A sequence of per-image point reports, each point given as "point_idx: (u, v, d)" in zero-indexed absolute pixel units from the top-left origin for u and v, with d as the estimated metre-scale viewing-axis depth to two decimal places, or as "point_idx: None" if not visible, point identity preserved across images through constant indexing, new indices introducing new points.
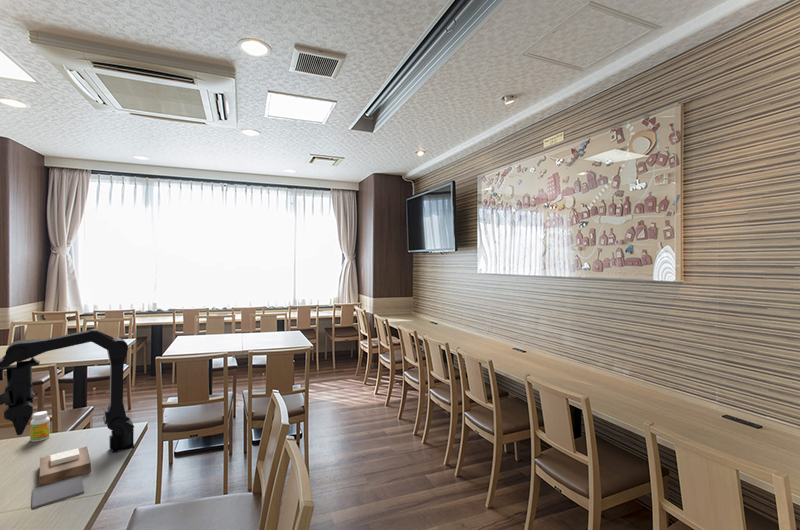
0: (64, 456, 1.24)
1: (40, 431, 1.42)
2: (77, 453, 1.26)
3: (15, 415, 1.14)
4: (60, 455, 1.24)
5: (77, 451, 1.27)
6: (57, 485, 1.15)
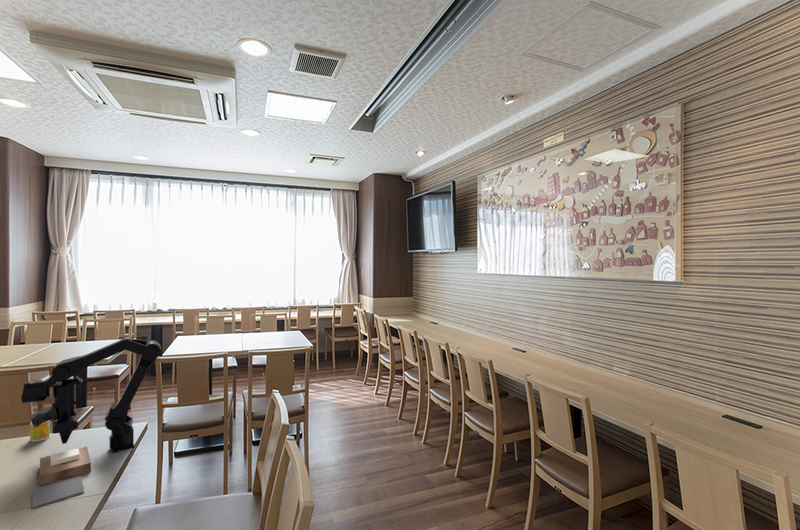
0: (64, 456, 1.24)
1: (40, 431, 1.42)
2: (77, 453, 1.26)
3: (63, 430, 1.23)
4: (60, 455, 1.24)
5: (77, 451, 1.27)
6: (57, 485, 1.15)
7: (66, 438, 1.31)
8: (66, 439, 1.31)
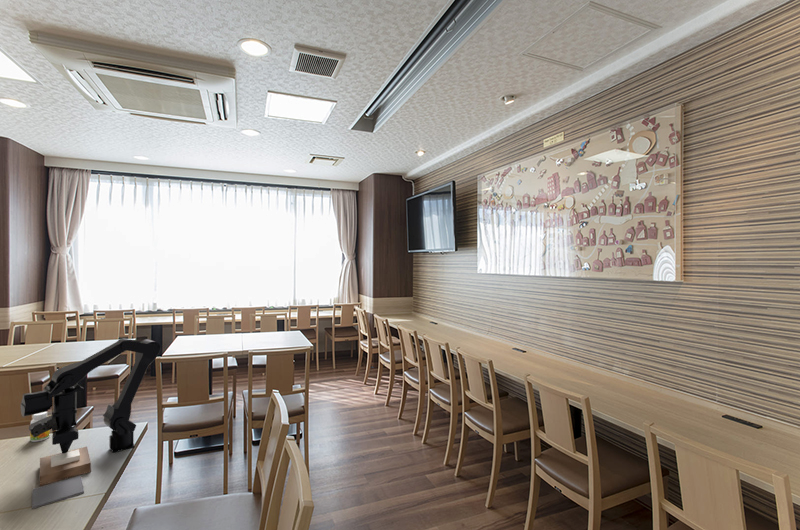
0: (64, 457, 1.23)
1: None
2: (77, 454, 1.25)
3: (62, 441, 1.19)
4: (60, 456, 1.24)
5: (77, 452, 1.26)
6: (57, 485, 1.15)
7: (66, 448, 1.26)
8: (66, 449, 1.26)
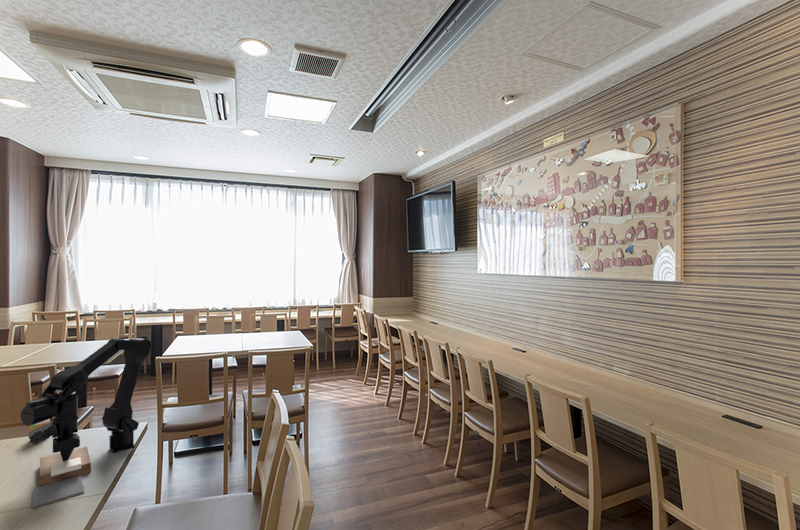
0: (65, 466, 1.18)
1: None
2: (79, 462, 1.20)
3: (63, 449, 1.14)
4: (61, 465, 1.19)
5: (79, 460, 1.22)
6: (57, 485, 1.15)
7: (67, 456, 1.21)
8: (67, 457, 1.21)
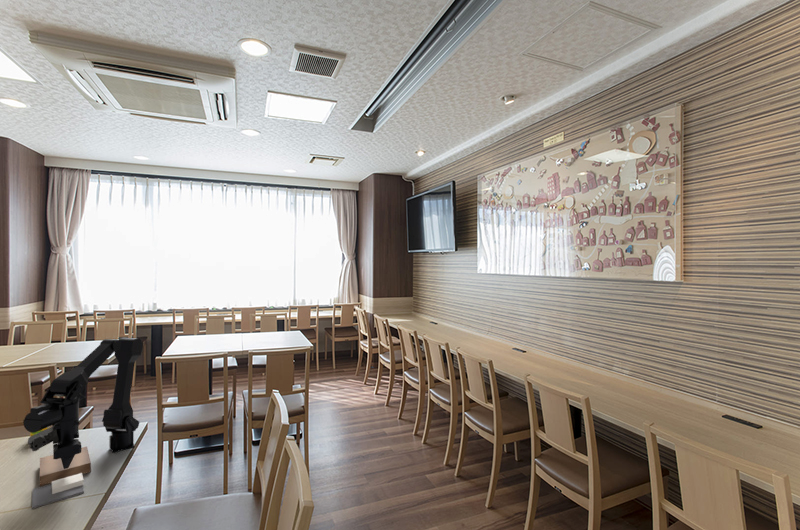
0: None
1: (40, 431, 1.42)
2: None
3: (64, 455, 1.11)
4: None
5: None
6: None
7: (68, 463, 1.18)
8: (68, 464, 1.18)
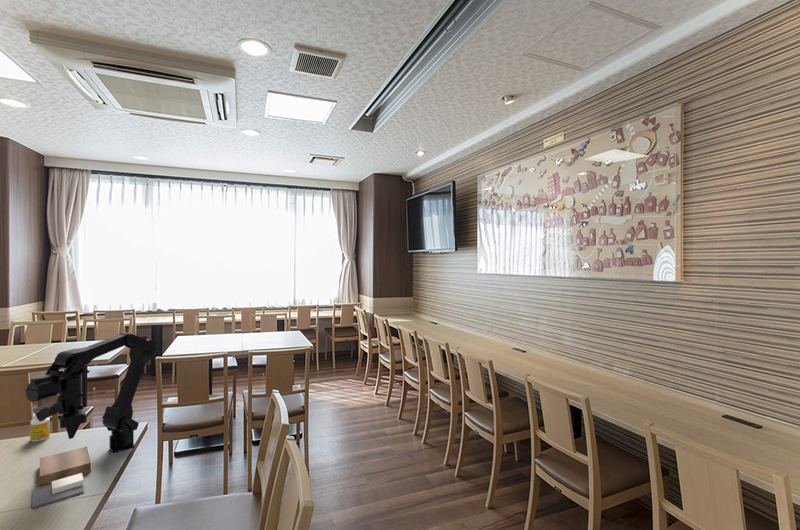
0: None
1: (40, 431, 1.42)
2: None
3: (71, 424, 1.16)
4: None
5: None
6: None
7: (73, 433, 1.23)
8: (73, 434, 1.23)
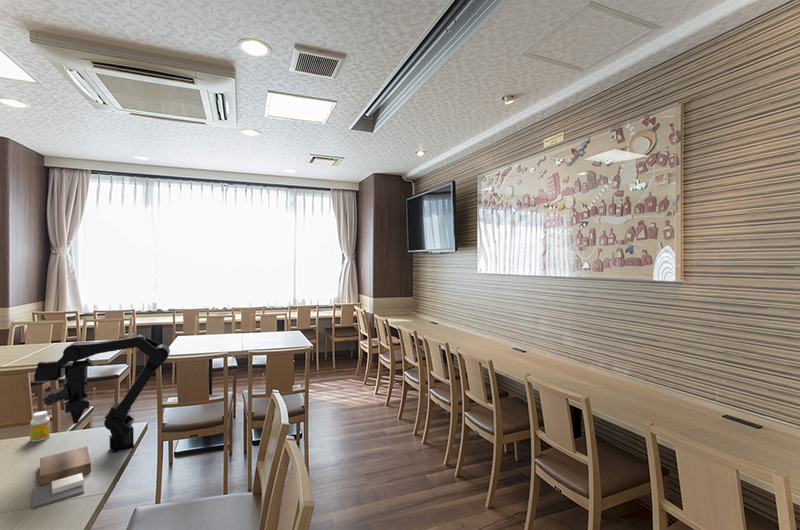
0: None
1: (40, 431, 1.42)
2: None
3: (74, 409, 1.26)
4: None
5: None
6: None
7: (77, 418, 1.33)
8: (77, 419, 1.33)
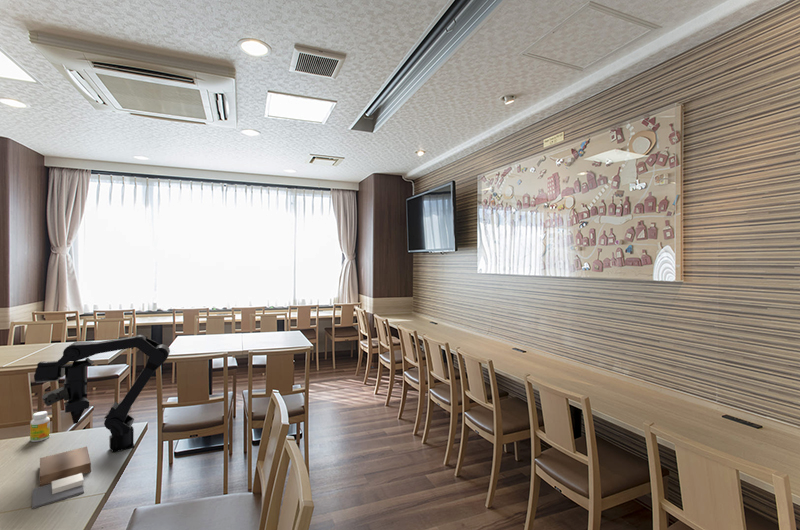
0: None
1: (40, 431, 1.42)
2: None
3: (74, 409, 1.26)
4: None
5: None
6: None
7: (77, 418, 1.33)
8: (77, 419, 1.33)
